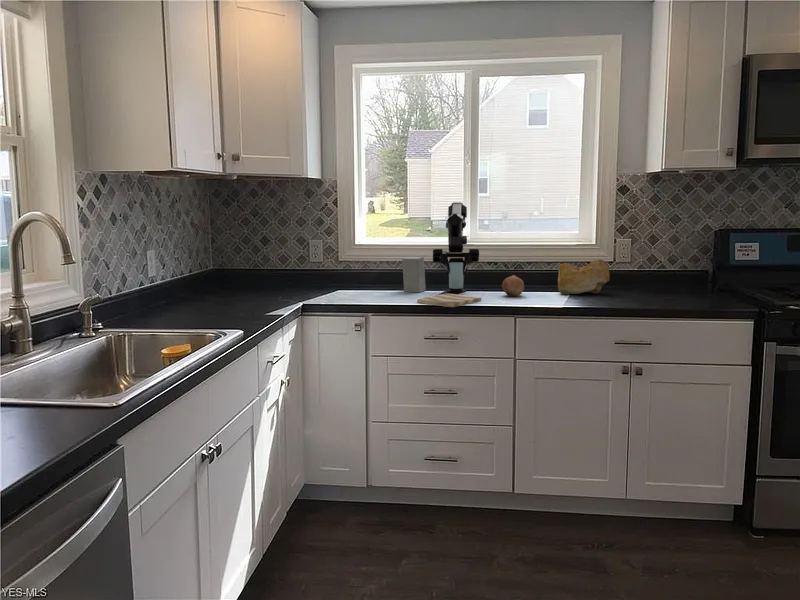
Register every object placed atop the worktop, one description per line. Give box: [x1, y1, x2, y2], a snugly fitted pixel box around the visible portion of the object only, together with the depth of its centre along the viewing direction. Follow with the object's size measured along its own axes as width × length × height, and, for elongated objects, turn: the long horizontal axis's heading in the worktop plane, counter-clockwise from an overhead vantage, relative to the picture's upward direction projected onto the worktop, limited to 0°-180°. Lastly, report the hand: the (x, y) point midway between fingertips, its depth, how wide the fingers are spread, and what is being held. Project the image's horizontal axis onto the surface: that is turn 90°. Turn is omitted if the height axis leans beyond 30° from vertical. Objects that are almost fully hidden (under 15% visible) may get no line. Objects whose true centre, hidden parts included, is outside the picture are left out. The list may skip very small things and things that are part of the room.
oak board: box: [417, 292, 482, 308], centre depth 276 cm, size 20×18×2 cm
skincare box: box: [401, 256, 427, 293], centre depth 304 cm, size 8×7×16 cm
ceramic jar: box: [448, 262, 464, 289], centre depth 269 cm, size 6×6×10 cm
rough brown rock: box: [557, 259, 611, 295], centre depth 298 cm, size 23×17×15 cm
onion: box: [501, 274, 525, 297], centre depth 290 cm, size 10×9×10 cm
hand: (456, 271), depth 267 cm, fingers closed on ceramic jar, 6 cm apart
